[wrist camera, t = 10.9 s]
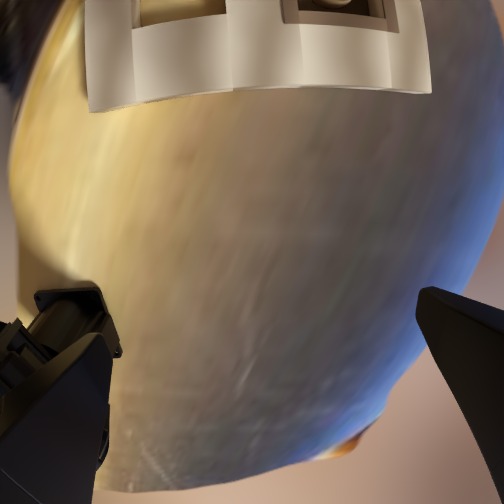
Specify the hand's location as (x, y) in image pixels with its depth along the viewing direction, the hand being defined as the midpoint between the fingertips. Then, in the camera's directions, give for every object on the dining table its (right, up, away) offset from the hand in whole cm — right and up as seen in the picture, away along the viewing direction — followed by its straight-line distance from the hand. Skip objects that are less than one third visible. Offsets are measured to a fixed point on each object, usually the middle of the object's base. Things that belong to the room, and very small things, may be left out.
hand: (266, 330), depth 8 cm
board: (0, +18, +6) cm, 19 cm away
